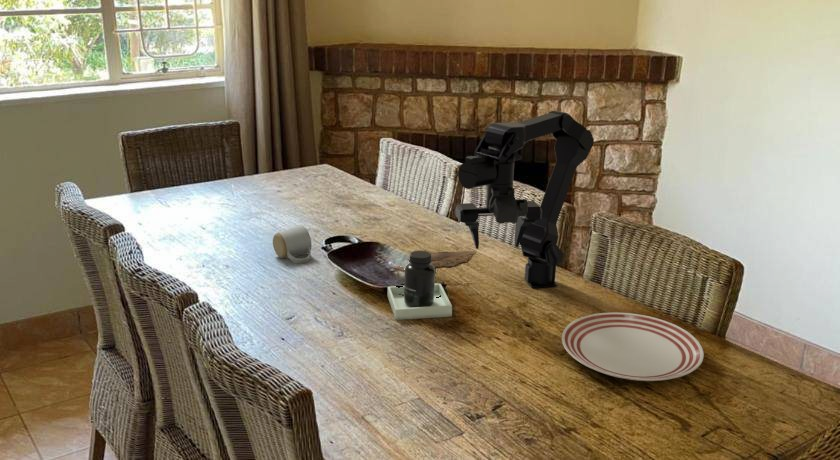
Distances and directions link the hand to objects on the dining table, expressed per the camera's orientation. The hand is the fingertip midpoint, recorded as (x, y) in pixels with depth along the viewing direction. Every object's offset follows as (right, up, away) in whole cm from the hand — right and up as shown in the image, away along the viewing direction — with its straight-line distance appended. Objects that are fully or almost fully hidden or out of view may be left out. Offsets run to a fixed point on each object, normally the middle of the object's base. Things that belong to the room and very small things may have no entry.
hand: (496, 247), depth 175 cm
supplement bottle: (-18, -13, 0) cm, 22 cm away
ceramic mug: (-50, -3, +28) cm, 58 cm away
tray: (-18, -13, 0) cm, 22 cm away
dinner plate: (+25, -22, -20) cm, 38 cm away
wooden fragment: (-13, -5, +27) cm, 30 cm away
